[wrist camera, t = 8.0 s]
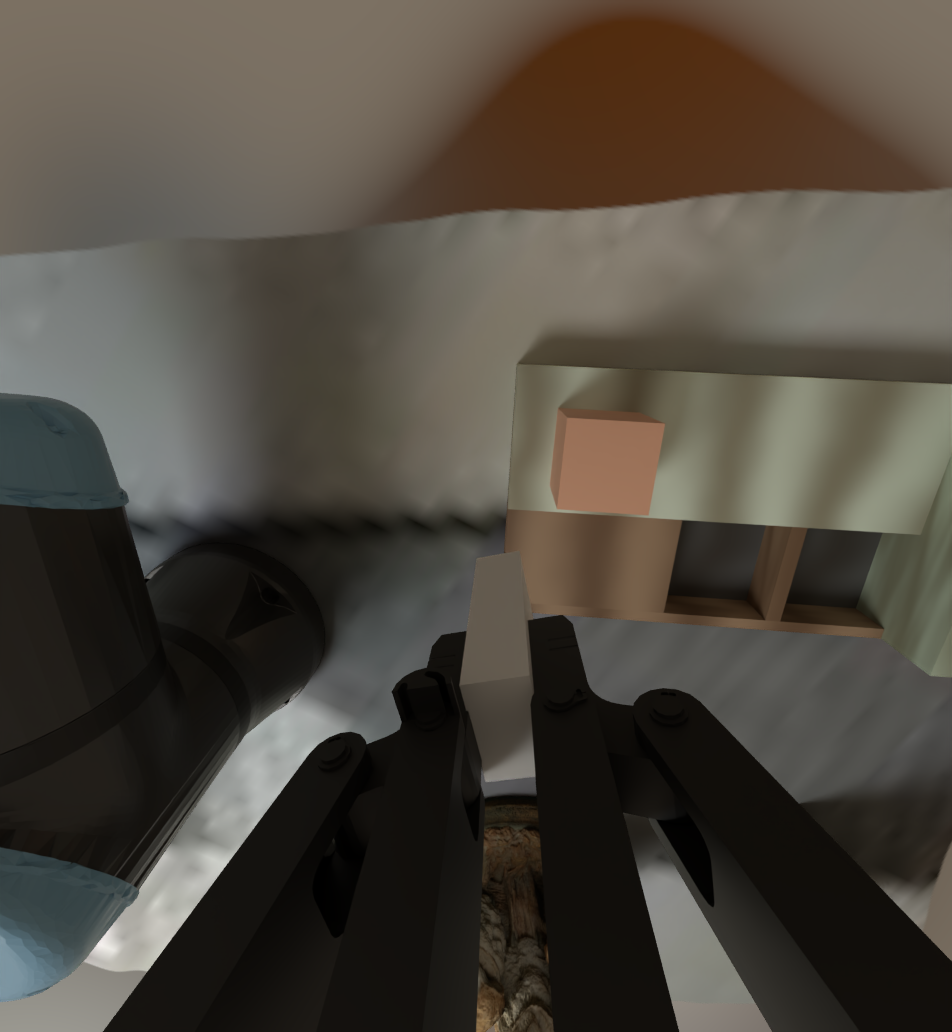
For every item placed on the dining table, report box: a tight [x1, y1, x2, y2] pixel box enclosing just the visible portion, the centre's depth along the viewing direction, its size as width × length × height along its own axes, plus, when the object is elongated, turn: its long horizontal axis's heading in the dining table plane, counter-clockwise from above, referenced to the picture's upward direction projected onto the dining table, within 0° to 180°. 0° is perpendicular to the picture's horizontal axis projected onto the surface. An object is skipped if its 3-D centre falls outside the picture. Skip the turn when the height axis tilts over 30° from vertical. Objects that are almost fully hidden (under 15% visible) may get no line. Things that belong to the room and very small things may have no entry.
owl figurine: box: [476, 797, 554, 1032], centre depth 37 cm, size 18×12×17 cm, turn 96°
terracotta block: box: [550, 408, 665, 516], centre depth 27 cm, size 5×5×5 cm
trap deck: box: [504, 364, 952, 677], centre depth 30 cm, size 28×17×7 cm, turn 87°
